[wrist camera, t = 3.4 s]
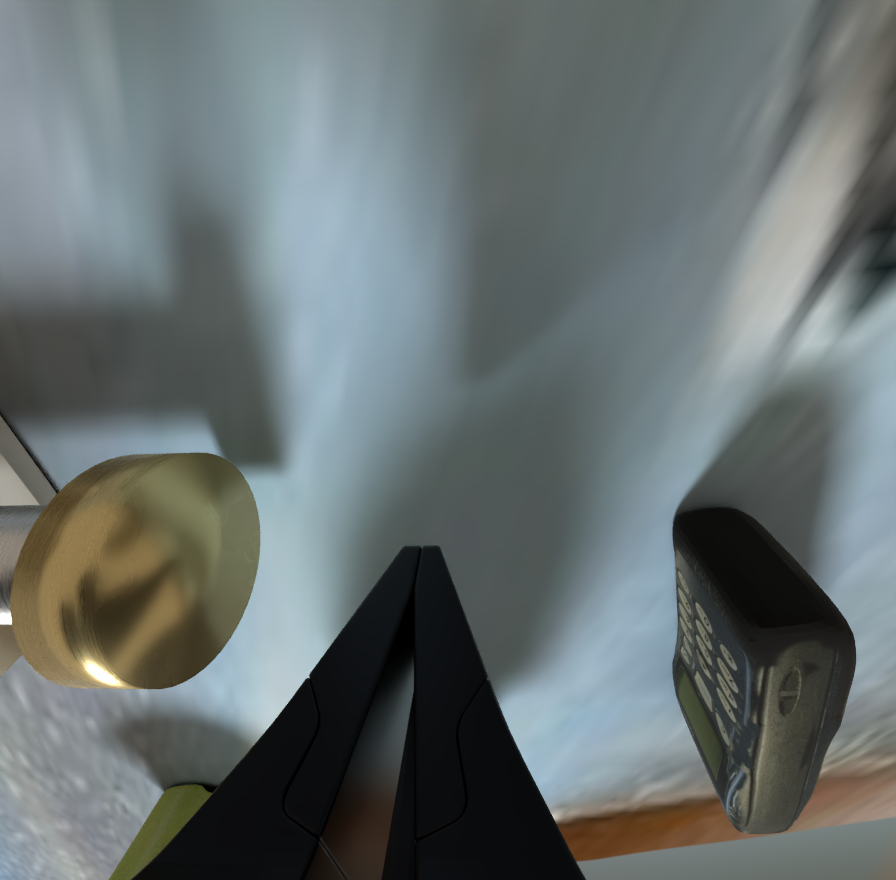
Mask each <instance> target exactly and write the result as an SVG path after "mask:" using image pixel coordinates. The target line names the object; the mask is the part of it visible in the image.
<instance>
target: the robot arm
mask: <svg viewBox="0 0 896 880" xmlns="http://www.w3.org/2000/svg"><path fill="white" fill-rule="evenodd" d="M309 677H310V678H306V680H305V681H304V682H303V684H302V685H301V686H300V688H299V689H298V691H297V692H296V693H295V695H294V696H293V697H292V699H291V700H290V701H289V702H288V704H287V705H286V706H285V708H284V709H283V710H282V712H281V713H280V714H279V715H278V717H277V718H276V719H275V721H274V722H273V723H272V725H271V726H270V727H269V728H268V729H267V730H266V732H265V733H264V734H263V735H262V736H261V738H260V739H259V740H258V741H257V742H256V743H255V745H254V746H253V747H252V748H251V749H250V751H249V752H248V753H247V754H246V755H245V756H244V758H243V759H242V760H241V761H240V762H239V763H238V764H237V766H236V767H235V768H234V769H233V770H232V771H231V772H230V774H229V775H228V776H227V777H226V778H225V779H224V780H223V782H222V783H221V784H220V785H219V786H218V787H217V788H216V790H215V791H214V792H213V793H212V794H211V795H210V796H209V798H208V799H207V800H206V801H205V802H204V803H203V804H202V806H201V807H200V808H199V809H198V810H197V811H196V812H195V814H194V815H193V816H192V817H191V818H190V819H189V820H188V822H187V823H186V824H185V825H184V826H183V827H182V828H181V830H180V831H179V832H178V833H177V834H176V835H175V836H174V837H173V839H172V840H171V841H170V842H169V843H168V844H167V845H166V846H165V847H164V848H163V849H162V850H161V851H160V852H159V853H158V854H157V855H156V856H155V857H154V858H153V859H152V860H151V861H150V862H149V863H148V864H147V865H146V866H145V867H144V868H143V869H142V870H140V871H139V872H138V873H137V874H136V875H135V876H134V877H133V878H131V879H130V880H586V879H585V877H584V875H583V873H582V872H581V870H580V868H579V866H578V865H577V863H576V861H575V859H574V857H573V855H572V853H571V851H570V850H569V848H568V846H567V844H566V842H565V840H564V838H563V836H562V834H561V832H560V830H559V828H558V826H557V824H556V822H555V820H554V818H553V816H552V815H551V813H550V811H549V809H548V807H547V805H546V803H545V801H544V799H543V797H542V795H541V793H540V791H539V789H538V787H537V785H536V783H535V781H534V779H533V777H532V775H531V773H530V772H529V770H528V768H527V766H526V764H525V762H524V760H523V758H522V755H521V753H520V751H519V749H518V747H517V745H516V743H515V741H514V739H513V736H512V734H511V732H510V730H509V728H508V725H507V723H506V721H505V718H504V716H503V713H502V711H501V708H500V706H499V703H498V701H497V698H496V696H495V693H494V690H493V688H492V685H491V682H490V680H488V675H487V672H486V669H485V667H484V664H483V661H482V659H481V656H480V653H479V651H478V648H477V645H476V643H475V640H474V637H473V634H472V632H471V629H470V626H469V624H468V621H467V618H466V616H465V613H464V610H463V608H462V605H461V602H460V600H459V597H458V594H457V592H456V589H455V586H454V584H453V581H452V578H451V575H450V573H449V570H448V567H447V565H446V562H445V559H444V557H443V554H442V551H441V549H440V547H439V546H423V547H422V548H421V547H420V546H405V547H403V548H402V549H401V551H400V552H399V553H398V555H397V556H396V557H395V559H394V560H393V561H392V563H391V564H390V566H389V567H388V568H387V570H386V571H385V572H384V574H383V575H382V576H381V578H380V579H379V580H378V582H377V583H376V585H375V586H374V587H373V589H372V590H371V591H370V593H369V594H368V595H367V597H366V598H365V600H364V601H363V602H362V604H361V605H360V606H359V608H358V609H357V610H356V612H355V613H354V615H353V616H352V617H351V619H350V620H349V621H348V623H347V624H346V625H345V627H344V628H343V629H342V631H341V632H340V634H339V635H338V636H337V638H336V639H335V640H334V642H333V643H332V644H331V646H330V647H329V649H328V650H327V651H326V653H325V654H324V655H323V657H322V658H321V659H320V661H319V662H318V664H317V665H316V666H315V668H314V669H313V670H312V672H311V673H310V675H309ZM413 691H414V692H413Z"/></svg>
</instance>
